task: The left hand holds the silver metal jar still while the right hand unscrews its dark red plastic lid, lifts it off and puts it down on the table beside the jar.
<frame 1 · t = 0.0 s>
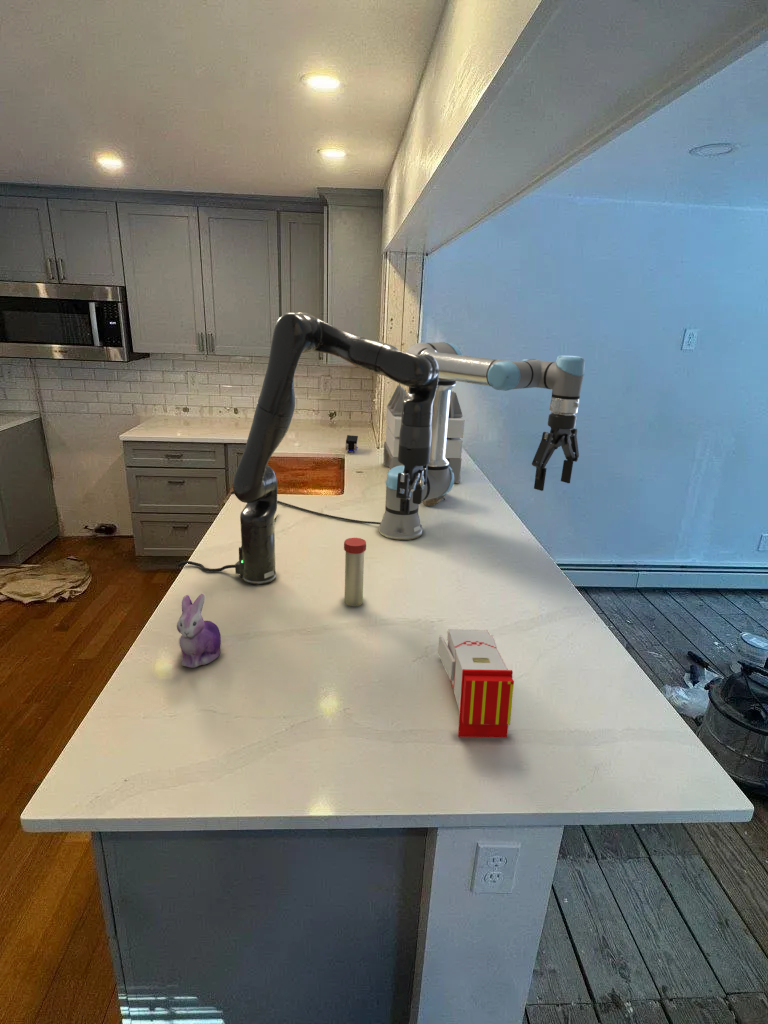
left hand: (410, 508, 137), 29 cm above the counter, tool pointing down, fingers open, 8 cm apart
right hand: (552, 485, 166), 28 cm above the counter, tool pointing down, fingers open, 13 cm apart
toy: (469, 691, 119), on the counter
figurine character: (351, 451, 311), on the counter
lid: (355, 543, 147), point 17 cm above the counter, screwed on, not yet turned
figurine: (201, 657, 126), on the counter
jar: (353, 601, 153), on the counter
white wooden crate: (419, 473, 275), on the counter
fossil: (435, 499, 238), on the counter
feather: (276, 518, 209), on the counter
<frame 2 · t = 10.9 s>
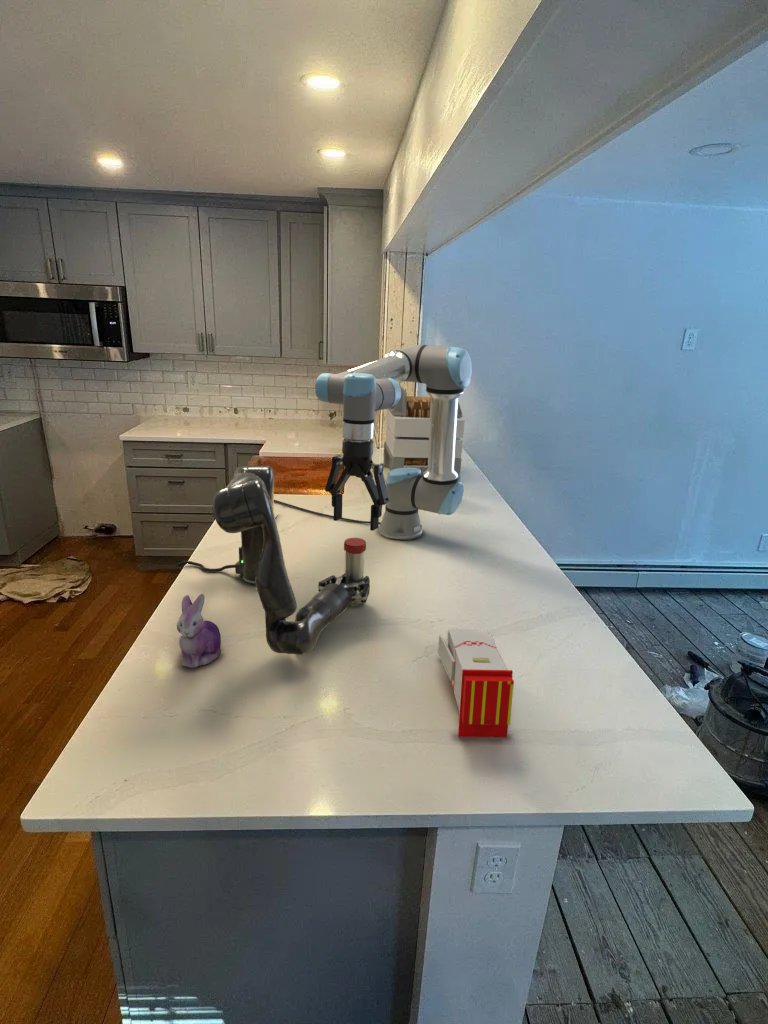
left hand: (358, 577, 153), 6 cm above the counter, tool horizontal, fingers closed on jar, 5 cm apart
right hand: (355, 523, 145), 22 cm above the counter, tool pointing down, fingers open, 11 cm apart
jar: (353, 601, 153), on the counter, touching left hand
everything else where it was.
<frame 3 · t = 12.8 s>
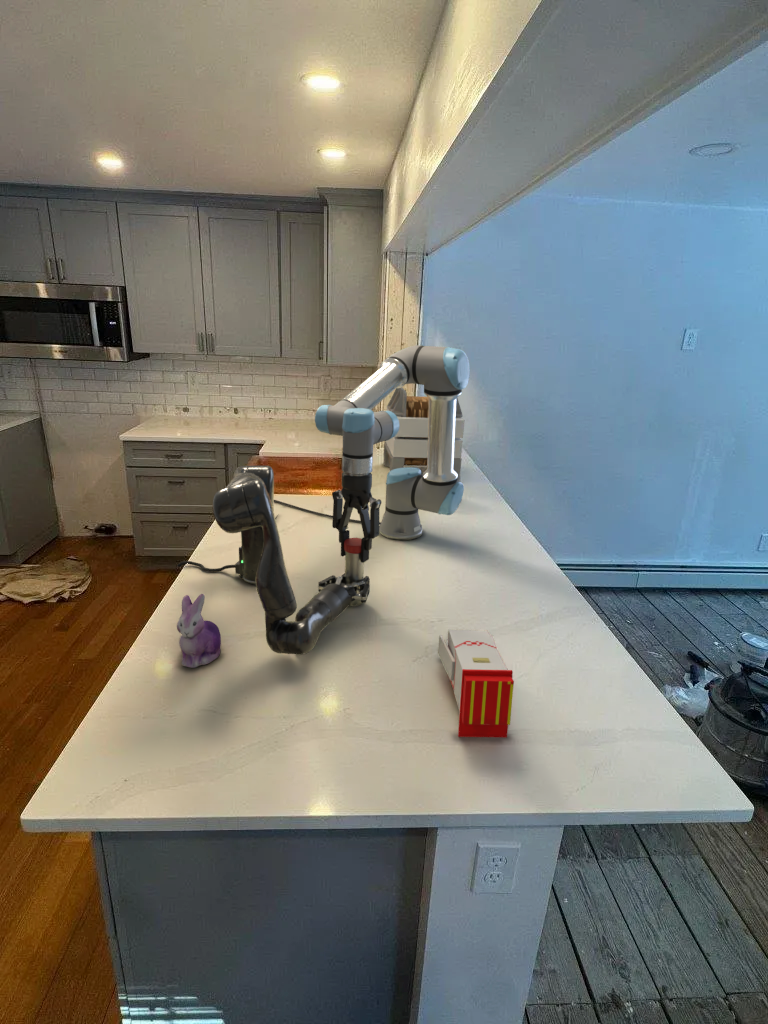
left hand: (358, 577, 153), 6 cm above the counter, tool horizontal, fingers closed on jar, 5 cm apart
right hand: (354, 557, 148), 13 cm above the counter, tool pointing down, fingers closed on lid, 6 cm apart
lid: (355, 543, 147), point 17 cm above the counter, screwed on, not yet turned, touching right hand
jar: (353, 601, 153), on the counter, touching left hand
everything else where it was.
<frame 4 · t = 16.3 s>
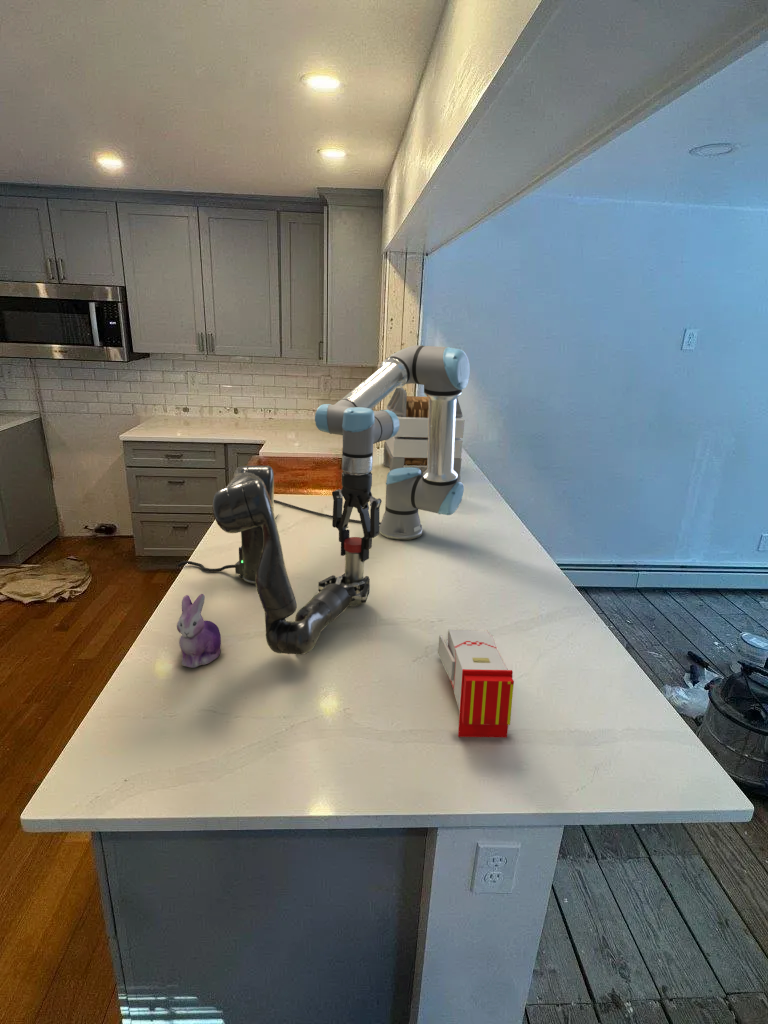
left hand: (358, 577, 153), 6 cm above the counter, tool horizontal, fingers closed on jar, 5 cm apart
right hand: (354, 556, 148), 13 cm above the counter, tool pointing down, fingers closed on lid, 6 cm apart
lid: (355, 542, 147), point 17 cm above the counter, turned 125° so far, risen 0.2 cm, still on its thread, touching right hand
jar: (353, 601, 153), on the counter, touching left hand
everything else where it was.
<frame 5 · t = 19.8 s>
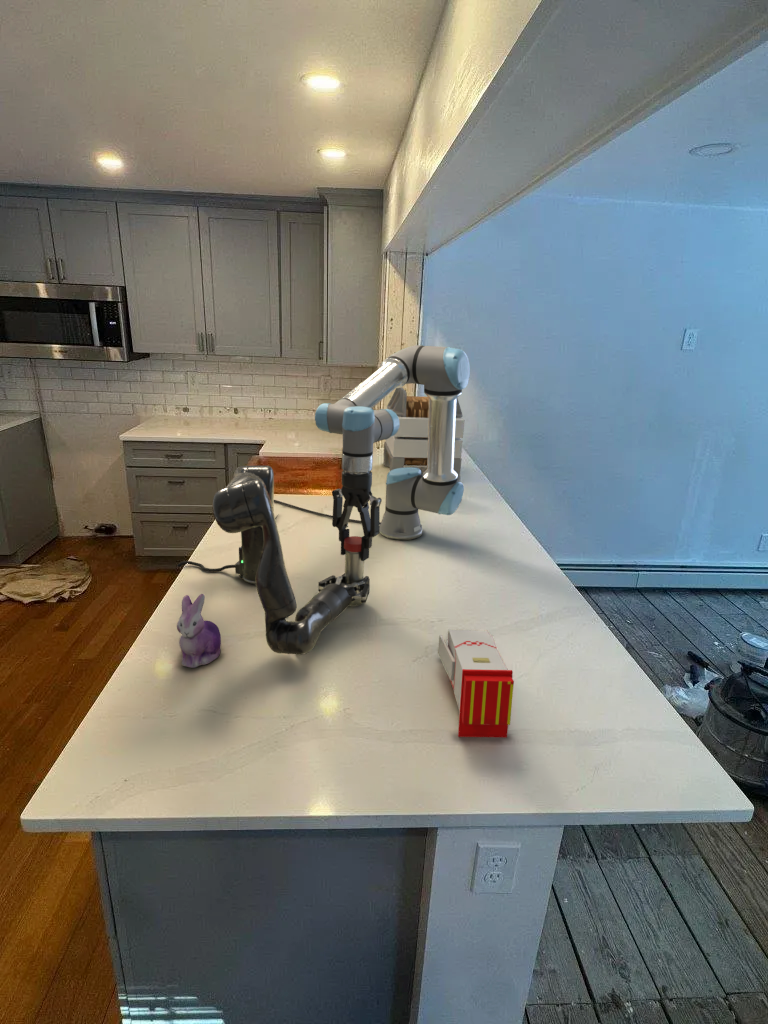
left hand: (358, 577, 153), 6 cm above the counter, tool horizontal, fingers closed on jar, 5 cm apart
right hand: (354, 556, 148), 14 cm above the counter, tool pointing down, fingers closed on lid, 6 cm apart
lid: (355, 541, 147), point 18 cm above the counter, turned 250° so far, risen 0.4 cm, still on its thread, touching right hand
jar: (353, 601, 153), on the counter, touching left hand
everything else where it was.
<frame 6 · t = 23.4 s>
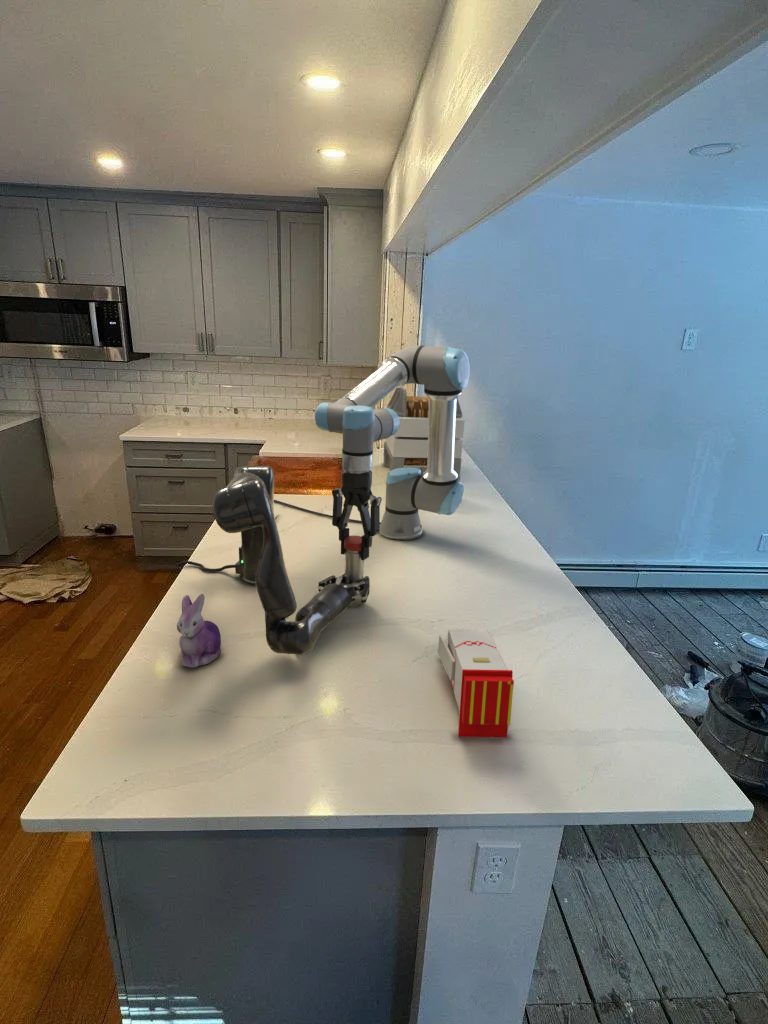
left hand: (358, 577, 153), 6 cm above the counter, tool horizontal, fingers closed on jar, 5 cm apart
right hand: (354, 555, 148), 14 cm above the counter, tool pointing down, fingers closed on lid, 6 cm apart
lid: (355, 540, 147), point 18 cm above the counter, turned 375° so far, risen 0.6 cm, still on its thread, touching right hand
jar: (353, 601, 153), on the counter, touching left hand
everything else where it was.
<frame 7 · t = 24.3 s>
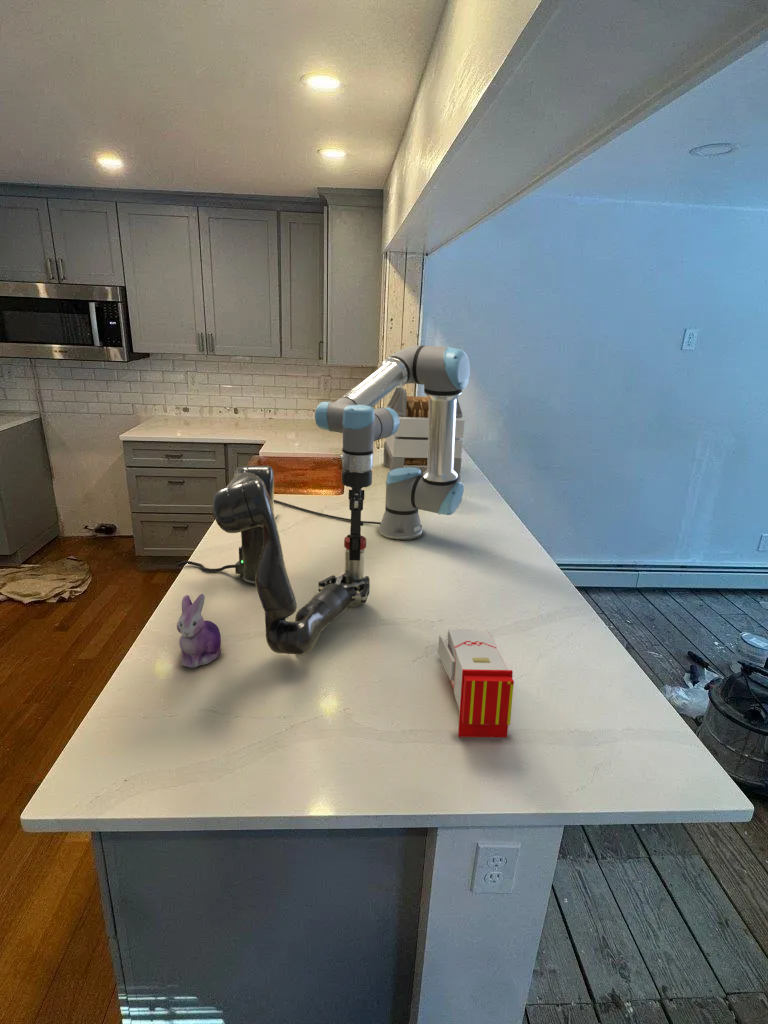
left hand: (358, 577, 153), 6 cm above the counter, tool horizontal, fingers closed on jar, 5 cm apart
right hand: (354, 554, 148), 14 cm above the counter, tool pointing down, fingers closed on lid, 6 cm apart
lid: (355, 540, 147), point 18 cm above the counter, off its thread, touching right hand
jar: (353, 601, 153), on the counter, touching left hand
everything else where it was.
when the right hand's fingers open (0 cm above the counter, at t = 29.4 s): lid drops 2 cm, point 2 cm above the counter.
when the left hand's fingers open (6 cm above the counter, at t = 30.5 s): jar stays where it is, on the counter.
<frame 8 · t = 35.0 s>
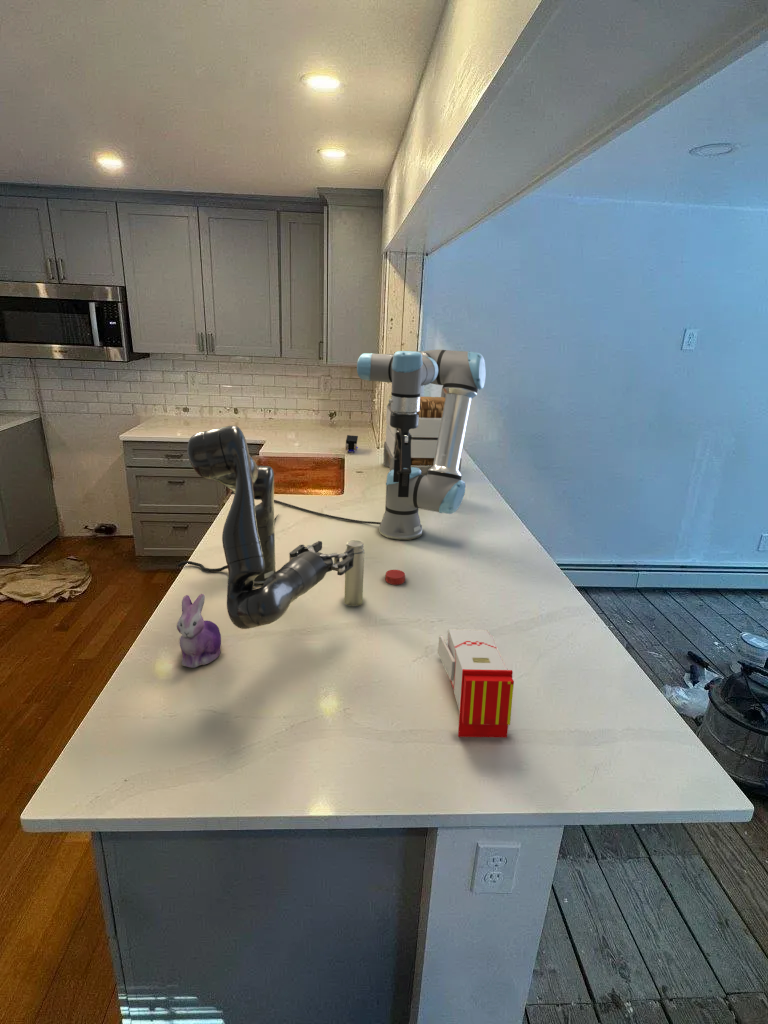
left hand: (336, 548, 137), 20 cm above the counter, tool horizontal, fingers open, 8 cm apart
right hand: (400, 489, 156), 28 cm above the counter, tool pointing down, fingers open, 13 cm apart
lid: (395, 574, 165), point 2 cm above the counter, off its thread
jar: (353, 601, 153), on the counter
everything else where it was.
at the end: lid came off its thread; lid point 1.8 cm above the counter; the left hand is holding nothing; the right hand is holding nothing; jar tilted 0°; jar moved 0.0 cm from its start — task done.
